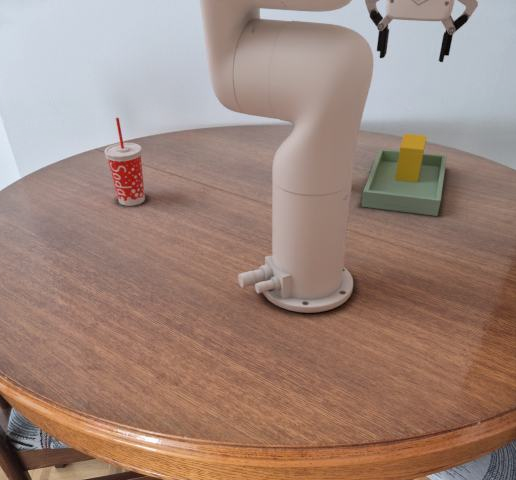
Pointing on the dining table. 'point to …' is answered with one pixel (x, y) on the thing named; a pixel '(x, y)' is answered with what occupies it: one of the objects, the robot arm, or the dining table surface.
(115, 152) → the beverage cup
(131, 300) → the dining table surface
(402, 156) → the yellow rectangular block
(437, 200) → the pan
